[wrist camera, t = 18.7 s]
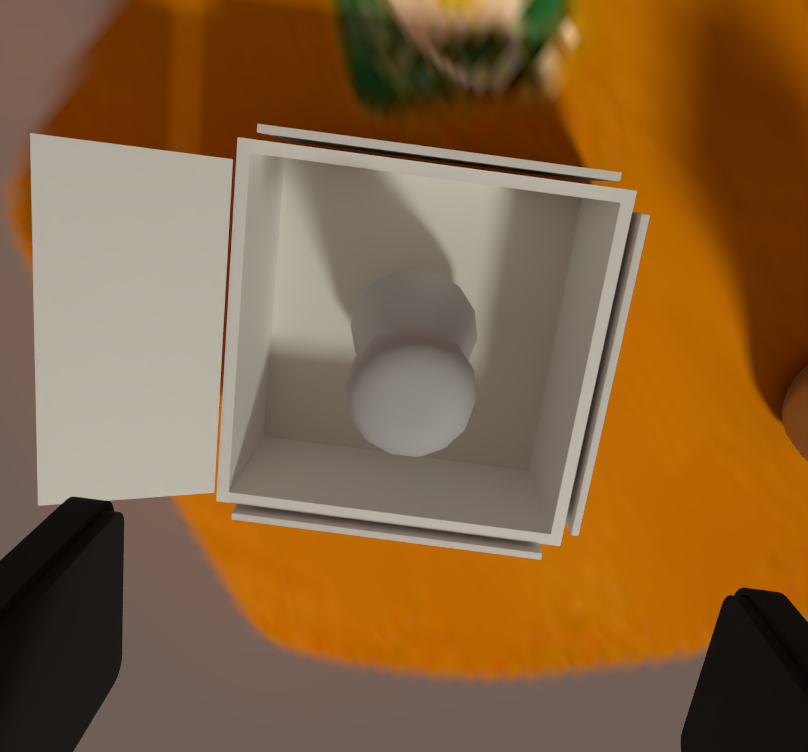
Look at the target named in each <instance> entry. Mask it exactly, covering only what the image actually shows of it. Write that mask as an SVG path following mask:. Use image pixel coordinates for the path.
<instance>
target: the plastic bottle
mask: <svg viewBox="0 0 808 752" xmlns="http://www.w3.org/2000/svg"><path fill="white" fill-rule="evenodd" d="M782 420H783V426H784V429H785V431H786V434H787V436H788V437H789V439H790V441H791V442H792V444H793V445H794V446H795V448H796V449H797V450H798V451H799V453H800V454H801V455H802V457H803V458H805V459H806V460H807V461H808V365H806V366H805V367H804V368H803V369H802V370H801V371H800V372H799V373H798V374H797V376H796V377H795V378H794V379H793V381H792V383H791V384H790V386H789V388H788V390H787V392H786V395H785V398H784V401H783V407H782Z"/></svg>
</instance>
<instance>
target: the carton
mask: <svg viewBox="0 0 808 752" xmlns="http://www.w3.org/2000/svg"><path fill="white" fill-rule="evenodd" d="M257 132H258V133H261V134H265V135H269V136H273V137H276V138H280V139H284V140H288V141H293V142H300V143H308V144H315V145H323V146H330V147H337V148H345V149H352V150H360V151H367V152H375V153H382V154H389V155H397V156H404V157H412V158H419V159H427V160H434V161H441V162H449V163H456V164H464V165H471V166H479V167H486V168H493V169H501V170H508V171H516V172H523V173H531V174H538V175H545V176H553V177H560V178H568V179H575V180H586V181H620V179H621V174H622V173H620V172H613V171H605V170H598V169H590V168H583V167H576V166H568V165H561V164H553V163H546V162H539V161H531V160H524V159H516V158H509V157H501V156H494V155H487V154H479V153H472V152H464V151H457V150H450V149H442V148H435V147H427V146H420V145H412V144H405V143H398V142H390V141H383V140H375V139H368V138H360V137H353V136H346V135H338V134H331V133H323V132H316V131H309V130H301V129H294V128H286V127H279V126H271V125H264V124H257ZM636 193H637V191H634V190H627V189H619V188H612V187H604V186H597V185H589V184H582V183H575V182H567V181H560V180H552V179H545V178H537V177H530V176H523V175H515V174H508V173H500V172H493V171H485V170H478V169H471V168H463V167H456V166H448V165H441V164H433V163H426V162H419V161H411V160H404V159H396V158H389V157H381V156H374V155H367V154H359V153H352V152H344V151H337V150H329V149H322V148H315V147H307V146H300V145H292V144H285V143H277V142H270V141H263V140H255V139H248V138H240V137H237V155H236V172H235V189H234V207H233V224H232V241H231V258H230V276H229V293H228V310H227V327H226V345H225V362H224V379H223V397H222V414H221V431H220V448H219V466H218V483H217V500H216V501H219V502H227V503H234V504H237V505H236V507H235V509H234V510H233V512H232V519H233V520H240V521H248V522H256V523H263V524H271V525H279V526H286V527H294V528H302V529H309V530H317V531H325V532H332V533H340V534H348V535H355V536H363V537H371V538H378V539H386V540H394V541H401V542H409V543H417V544H424V545H432V546H439V547H447V548H455V549H462V550H470V551H478V552H485V553H493V554H501V555H508V556H516V557H524V558H531V559H539V560H541V557H542V551H541V548H540V545H539V543H540V544H548V545H556V546H560V544H561V540H562V535H563V530H564V526H565V521H566V523H567V526H568V528H569V531H570V533H571V535H575V536H578V535H579V530H580V526H581V522H582V517H583V513H584V508H585V504H586V499H587V495H588V490H589V486H590V481H591V477H592V472H593V468H594V463H595V459H596V454H597V450H598V445H599V441H600V437H601V432H602V428H603V423H604V419H605V414H606V410H607V405H608V401H609V396H610V392H611V387H612V383H613V378H614V374H615V369H616V365H617V361H618V356H619V352H620V347H621V343H622V338H623V334H624V329H625V325H626V320H627V316H628V311H629V307H630V302H631V298H632V293H633V289H634V285H635V280H636V276H637V271H638V267H639V262H640V258H641V253H642V249H643V244H644V240H645V235H646V231H647V226H648V222H649V217H650V215H646V214H640V213H634V212H632V211H633V207H634V202H635V198H636ZM404 269H417V270H427V271H435V272H437V273H439V274H440V275H442V276H443V277H445V278H447V279H448V280H450V281H451V282H453V283H455V284H456V285H458V286H459V287H460V288H461V290H462V291H463V293H464V294H465V296H466V298H467V299H468V301H469V302H470V304H471V306H472V307H473V309H474V310H475V319H476V330H477V340H476V343H475V346H474V349H473V351H472V354H471V357H470V359H469V363H470V364H471V366H472V368H473V370H474V380H475V391H476V401H475V404H474V406H473V409H472V412H471V415H470V417H469V420H468V423H467V425H466V428H465V430H464V431H463V432H462V433H461V434H460V435H459V436H458V437H457V438H455V439H454V440H453V441H452V442H451V443H450V444H449V445H448V446H447V447H445V448H444V449H441V450H438V451H435V452H432V453H429V454H427V455H424V456H421V457H411V456H403V455H394V454H389V453H388V452H386V451H384V450H382V449H381V448H379V447H377V446H375V445H374V444H372V443H370V442H368V441H366V439H365V438H364V436H363V435H362V433H361V432H360V430H359V429H358V427H357V426H356V424H355V423H354V422H353V420H352V419H351V415H350V409H349V403H348V397H347V391H346V382H347V379H348V376H349V373H350V370H351V367H352V364H353V361H354V358H355V357H356V356H357V355H356V353H355V348H354V342H353V337H352V331H351V322H352V319H353V317H354V314H355V311H356V308H357V305H358V302H359V299H360V298H361V297H362V296H363V295H364V293H365V292H366V291H367V290H368V289H369V288H370V287H371V286H372V285H373V284H374V283H375V282H376V281H377V280H378V278H381V277H383V276H386V275H389V274H392V273H395V272H398V271H401V270H404Z"/></svg>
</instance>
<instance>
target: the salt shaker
mask: <svg viewBox="0 0 808 752" xmlns="http://www.w3.org/2000/svg"><path fill="white" fill-rule="evenodd" d="M351 331H352V337H353V342H354V348H355V353H356V355H357V356H356V357H355V358H354V361H353V364H352V367H351V370H350V373H349V376H348V379H347V382H346V391H347V397H348V403H349V409H350V415H351V419H352V420H353V422H354V423H355V424H356V426H357V427H358V429H359V430H360V432H361V433H362V435H363V436H364V438H365V439H366V441H368V442H370V443H372V444H374V445H375V446H377V447H379V448H381V449H382V450H384V451H386V452H388V453H389V454H394V455H403V456H411V457H421V456H424V455H427V454H429V453H432V452H435V451H438V450H441V449H444V448H445V447H447V446H448V445H449V444H450V443H451V442H452V441H453V440H454V439H455V438H457V437H458V436H459V435H460V434H461V433H462V432H463V431H464V430H465V428H466V425H467V423H468V420H469V417H470V415H471V412H472V409H473V406H474V404H475V401H476V391H475V380H474V370H473V368H472V366H471V364H470V363H469V359H470V357H471V354H472V351H473V349H474V346H475V343H476V340H477V330H476V319H475V310H474V309H473V307H472V306H471V304H470V302H469V301H468V299H467V298H466V296H465V294H464V293H463V291H462V290H461V288H460V287H459V286H458V285H456V284H455V283H453V282H451V281H450V280H448V279H447V278H445V277H443V276H442V275H440V274H439V273H437V272H435V271H427V270H417V269H404V270H401V271H398V272H395V273H392V274H389V275H386V276H383V277H381V278H378V280H377V281H376V282H375V283H374V284H373V285H372V286H371V287H370V288H369V289H368V290H367V291H366V292H365V293H364V295H363V296H362V297H361V298H360V299H359V302H358V305H357V308H356V311H355V314H354V317H353V319H352V322H351Z"/></svg>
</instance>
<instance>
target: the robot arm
mask: <svg viewBox="0 0 808 752" xmlns="http://www.w3.org/2000/svg"><path fill="white" fill-rule="evenodd" d="M123 553H124V517H123V514H122V513H120V512H114V508H113V505H112V503H111V502H110V501H104V500H97V499H89V498H82V497H70V498H68V499H67V500H66V501H65V502H63V503H62V504H61V505H60V506H59V507H58V508H57V509H56V510H55V511H54V512H53V513H52V514H50V515H49V516H48V518H46V519H45V520H44V521H43V522H42V523H41V524H40V525H39V526H37V528H35V529H34V530H33V531H32V532H31V533H30V534H29V535H28V536H27V537H26V538H24V539H23V540H22V541H21V542H20V543H19V544H18V545H17V546H16V547H15V548H14V549H12V550H11V551H10V552H9V553H8V554H7V555H6V556H5V557H4V558H3V559H2V560H1V561H0V752H73V751H74V749H75V748H76V746H77V744H78V742H79V741H80V739H81V738H82V736H83V734H84V733H85V731H86V729H87V728H88V726H89V724H90V723H91V721H92V719H93V718H94V716H95V715H96V713H97V711H98V710H99V708H100V706H101V705H102V703H103V701H104V700H105V698H106V696H107V694H108V693H109V692H110V690H111V688H112V686H113V685H114V683H115V681H116V679H117V676H118V673H119V670H120V666H121V660H122V616H123V614H122V613H123V555H124V554H123ZM681 751H682V752H808V622H807V621H806V620H805V619H804V617H803V616H802V615H801V614H800V613H799V611H798V610H797V609H796V608H795V607H794V605H793V604H792V603H791V602H790V601H789V599H788V598H787V597H786V596H785V595H783V594H782V593H779V592H772V591H765V590H758V589H750V588H741V589H739V590H738V591H737V592H736V593H735V595H734V596H732V595H730V596H727V597H726V598H725V599H724V601H723V604H722V607H721V610H720V613H719V616H718V619H717V622H716V626H715V629H714V632H713V635H712V638H711V642H710V645H709V648H708V651H707V654H706V657H705V661H704V664H703V667H702V670H701V673H700V677H699V680H698V683H697V686H696V690H695V693H694V696H693V699H692V702H691V705H690V708H689V712H688V715H687V718H686V721H685V724H684V727H683V731H682V735H681Z"/></svg>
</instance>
